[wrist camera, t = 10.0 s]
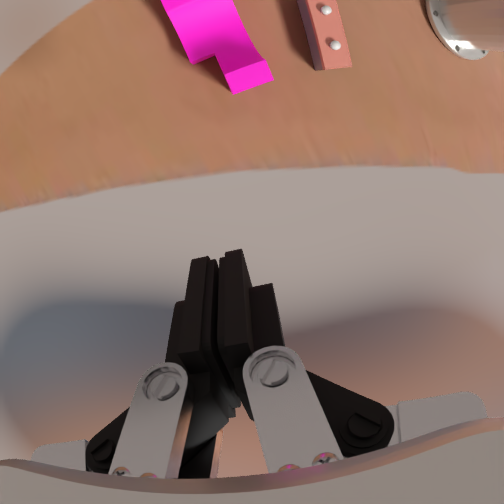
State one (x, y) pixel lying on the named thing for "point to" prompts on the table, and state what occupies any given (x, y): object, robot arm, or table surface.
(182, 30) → the magenta curved block
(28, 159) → the table surface
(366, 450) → the robot arm
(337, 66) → the block
